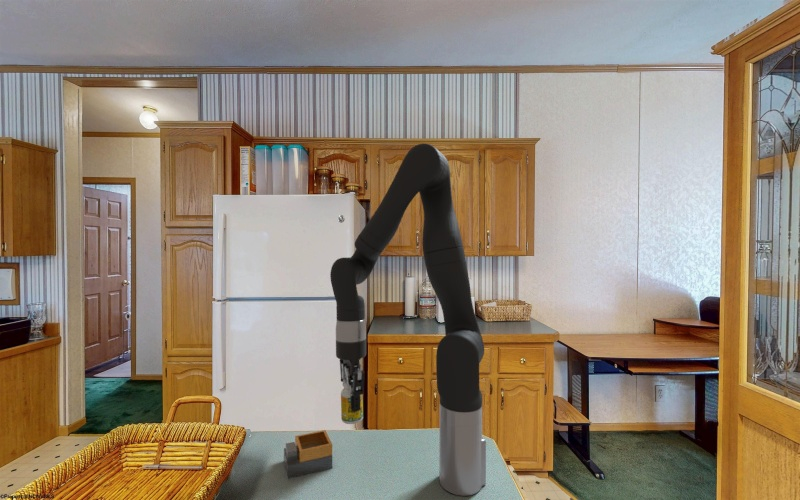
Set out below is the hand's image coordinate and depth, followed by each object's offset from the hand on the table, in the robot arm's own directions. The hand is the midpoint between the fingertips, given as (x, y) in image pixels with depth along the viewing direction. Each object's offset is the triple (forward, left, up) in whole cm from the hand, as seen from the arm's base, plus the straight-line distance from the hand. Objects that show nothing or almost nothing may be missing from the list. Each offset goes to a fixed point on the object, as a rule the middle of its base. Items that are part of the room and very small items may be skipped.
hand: (351, 405), depth 89 cm
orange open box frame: (+11, 0, -12) cm, 16 cm away
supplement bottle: (0, 0, -4) cm, 4 cm away
